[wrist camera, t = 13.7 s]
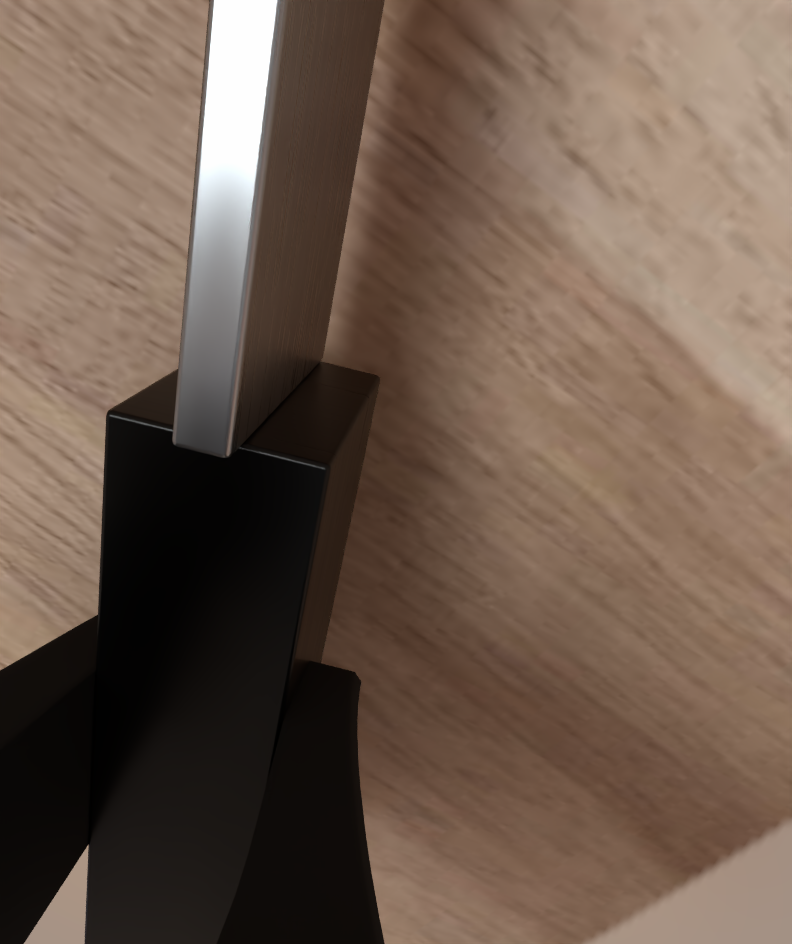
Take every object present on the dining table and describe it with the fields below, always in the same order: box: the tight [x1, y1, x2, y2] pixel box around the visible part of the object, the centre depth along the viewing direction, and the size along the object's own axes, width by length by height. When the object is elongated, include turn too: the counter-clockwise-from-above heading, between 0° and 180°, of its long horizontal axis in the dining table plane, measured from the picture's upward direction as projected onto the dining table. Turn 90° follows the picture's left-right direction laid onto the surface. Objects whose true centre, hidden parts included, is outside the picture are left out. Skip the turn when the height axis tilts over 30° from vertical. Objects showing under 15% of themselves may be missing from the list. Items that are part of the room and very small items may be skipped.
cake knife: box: [85, 0, 385, 944], centre depth 6 cm, size 20×2×3 cm, turn 168°
